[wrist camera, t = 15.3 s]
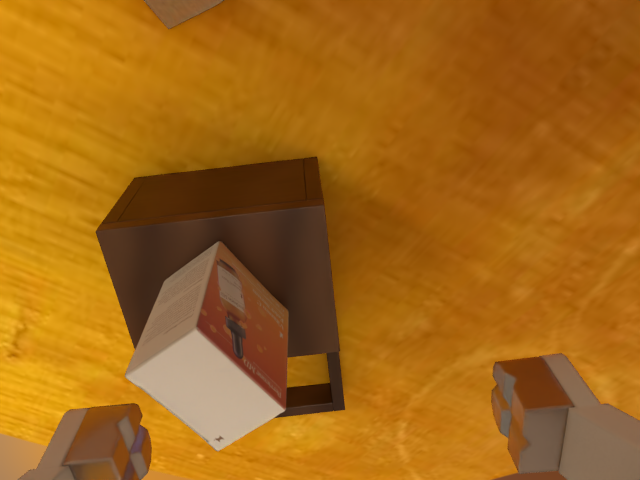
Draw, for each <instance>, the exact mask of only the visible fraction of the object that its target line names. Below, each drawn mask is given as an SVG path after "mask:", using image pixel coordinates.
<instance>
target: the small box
mask: <svg viewBox="0 0 640 480" xmlns="http://www.w3.org/2000/svg"><path fill="white" fill-rule="evenodd" d="M288 315H289V313H288V310H287V309H286V308H285V307H284V306H283V305H282V304H281V303H280V302H279V301H278V300H277V299H276V298H275V297H274V296H273V295H272V294H271V293H270V292H269V291H268V290H267V289H266V288H265V287H264V286H263V285H262V284H261V283H260V282H259V281H258V280H257V279H256V278H255V277H254V276H253V275H252V273H251V272H250V271H249V270H248V269H247V268H246V267H245V266H244V265H243V264H242V263H241V262H240V261H239V260H238V259H237V258H236V257H235V256H234V255H233V253H232V252H231V251H230V250H229V249H228V248H227V247H226V246H225V245H224V244H223V243H222V242H221V241H218V242H217V243H215V244H214V245H213V246H211V247H210V248H208V249H207V250H206V251H204V252H203V253H201V254H200V255H199V256H197V257H196V258H195V259H193V260H192V261H190V262H189V263H188V264H186V265H185V266H184V267H182V268H181V269H179V270H178V271H177V272H175V273H174V274H173V275H171V276H170V277H169V278H167V279H166V280H165V281H164V283H163V285H162V288H161V290H160V293H159V295H158V297H157V300H156V302H155V304H154V307H153V309H152V311H151V314H150V316H149V318H148V321H147V323H146V326H145V328H144V330H143V333H142V335H141V338H140V340H139V342H138V345H137V347H136V349H135V352H134V354H133V357H132V359H131V361H130V364H129V366H128V368H127V371H126V373H125V377H126V378H127V379H128V380H130V381H131V382H132V383H133V384H135V385H136V386H138V387H140V388H141V389H142V390H144V391H145V392H146V393H147V394H149V395H150V396H151V397H152V398H154V399H155V400H156V401H157V402H159V403H160V404H161V405H163V406H164V407H165V408H166V409H167V410H169V411H170V412H171V413H172V414H174V415H175V416H176V417H178V418H179V419H180V420H181V421H182V422H184V423H185V424H186V425H187V426H189V427H190V428H191V429H192V430H193V431H195V432H196V433H197V434H198V435H200V436H201V437H202V438H203V439H204V440H205V441H206V442H207V443H208V444H209V445H211V446H212V447H213V448H214V449H215V450H216V451H219V450H221V449H223V448H224V447H226V446H228V445H229V444H231V443H233V442H234V441H236V440H238V439H239V438H241V437H243V436H244V435H246V434H248V433H249V432H251V431H253V430H254V429H256V428H258V427H259V426H261V425H263V424H264V423H266V422H268V421H269V420H271V419H273V418H274V417H276V416H277V415H279V414H280V413H282V412H284V411H285V410H286V389H287V352H288Z"/></svg>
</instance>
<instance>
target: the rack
mask: <svg viewBox="0 0 640 480" xmlns="http://www.w3.org/2000/svg"><path fill="white" fill-rule="evenodd" d="M96 234H97V237H98V240H99V243H100V246H101V249H102V252H103V255H104V258H105V261H106V264H107V267H108V270H109V273H110V276H111V279H112V282H113V285H114V288H115V291H116V294H117V297H118V300H119V303H120V306H121V309H122V312H123V315H124V318H125V321H126V324H127V327H128V330H129V333H130V336H131V339H132V342H133V345H134V348H135V349H136V347H137V345H138V342H139V340H140V338H141V335H142V333H143V330H144V328H145V326H146V323H147V321H148V318H149V316H150V314H151V311H152V309H153V307H154V304H155V302H156V300H157V297H158V295H159V293H160V290H161V288H162V285H163V283H164V281H165V280H166V279H167V278H169V277H170V276H171V275H173V274H174V273H175V272H177V271H178V270H179V269H181V268H182V267H184V266H185V265H186V264H188V263H189V262H190V261H192V260H193V259H195V258H196V257H197V256H199V255H200V254H201V253H203V252H204V251H206V250H207V249H208V248H210V247H211V246H213V245H214V244H215V243H217V242H218V241H221V242H222V243H223V244H224V245H225V246H226V247H227V248H228V249H229V250H230V251H231V252H232V253H233V255H234V256H235V257H236V258H237V259H238V260H239V261H240V262H241V263H242V264H243V265H244V266H245V267H246V268H247V269H248V270H249V271H250V272H251V273H252V275H253V276H254V277H255V278H256V279H257V280H258V281H259V282H260V283H261V284H262V285H263V286H264V287H265V288H266V289H267V290H268V291H269V292H270V293H271V294H272V295H273V296H274V297H275V298H276V299H277V300H278V301H279V302H280V303H281V304H282V305H283V306H284V307H285V308H286V309H287V310H288V313H289V315H288V352H287V357H296V356H304V355H313V354H322V353H327V361H328V369H329V377H330V383H328V384H319V385H311V386H302V387H293V388H287V389H286V410H285V411H284V412H282V413H280V414H279V415H277V416H276V417H274V418H277V417H286V416H294V415H303V414H312V413H320V412H329V411H333V410H334V411H339V410H345V405H344V396H343V387H342V378H341V369H340V359H339V351H340V348H339V338H338V329H337V320H336V310H335V301H334V292H333V282H332V273H331V264H330V255H329V245H328V236H327V227H326V217H325V208H324V201H323V194H322V187H321V180H320V174H319V167H318V160H317V157H311V158H304V159H294V160H285V161H277V162H268V163H259V164H250V165H242V166H233V167H224V168H216V169H207V170H198V171H190V172H181V173H172V174H164V175H155V176H148V177H138V178H134V179H133V181H132V182H131V183H130V185H129V186H128V187H127V189H126V190H125V192H124V193H123V194H122V196H121V197H120V198H119V200H118V201H117V203H116V204H115V205H114V207H113V208H112V209H111V211H110V212H109V214H108V215H107V216H106V218H105V219H104V220H103V222H102V223H101V225H100V226H99V227H98V229H97V230H96Z"/></svg>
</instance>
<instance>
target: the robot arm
mask: <svg viewBox="0 0 640 480" xmlns="http://www.w3.org/2000/svg"><path fill="white" fill-rule="evenodd" d="M493 377H494V379H495V381H496V383H497V385H496V386H495V387H494V388H493V390H492V400H491V402H492V409H493V415H494V418H495V421H496V424H497V426H498V429H499V431H500V433H502V434H503V435H505V436H506V437H508V451H509V453H510V455H511V457H512V459H513V461H514V464H515V466H516V468H517V470H518V472H519V474H524V473H535V472H547V471H558V470H559V473H560V474H561V475H563V476H564V477H565V478H566V479H567V480H640V421H639V420H637V419H635V418H634V417H632V416H630V415H628V414H626V413H624V412H622V411H621V410H619V409H617V408H615V407H613V406H611V405H609V404H600V402H599V401H598V399H597V398H596V397H595V395H594V394H593V393H592V391H591V390H590V388H589V387H588V386H587V384H586V383H585V382H584V380H583V379H582V377H581V376H580V375H579V373H578V372H577V371H576V369H575V368H574V366H573V365H572V364H571V362H570V361H569V360H568V358H567V357H566V356H565V355H563V354H562V353H559V354H552V355H544V356H539V357H531V358H522V359H514V360H506V361H498V362H495V364H494V367H493ZM141 419H142V413H141V411H140V408H139V406H138V405H137V404H134V403H132V404H121V405H110V406H99V407H91V408H83V409H71V410H69V411H67V412H66V413H65V414H64V415H63V417H62V419H61V421H60V423H59V425H58V427H57V429H56V431H55V433H54V435H53V437H52V439H51V441H50V443H49V445H48V447H47V449H46V451H45V453H44V455H43V457H42V459H41V461H40V463H39V465H38V467H37V469H33V470H29V471H28V472H26V473H25V474H24V475H23V476H21V477H20V478H19V479H18V480H141V479H142V478H143V477H144V476H145V475H146V474H147V473H148V471H149V467H150V463H151V450H152V447H151V440H150V436H149V433H148V430H147V429H145V428H144V427H143V426H141V425H140V422H141Z"/></svg>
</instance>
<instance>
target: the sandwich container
mask: <svg viewBox="0 0 640 480" xmlns="http://www.w3.org/2000/svg"><path fill="white" fill-rule="evenodd" d="M144 1H145V2H146V3H147V5H148V6H149V7H150V8H151V9H152V10H153V12H154V13H155V14H156V15H157V16H158V17H159V19H160V20H161V21H162V22H163V23H164V24H165V26H166V27H167V28H168V29H170V28H172V27H174V26H176V25H178V24H180V23H182V22H184V21H186V20H188V19H190V18H192V17H194V16H196V15H198V14H200V13H202V12H204V11H206V10H208V9H210V8H212V7H214V6H216V5H217V4H219V3H221V2H222V1H224V0H144Z"/></svg>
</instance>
